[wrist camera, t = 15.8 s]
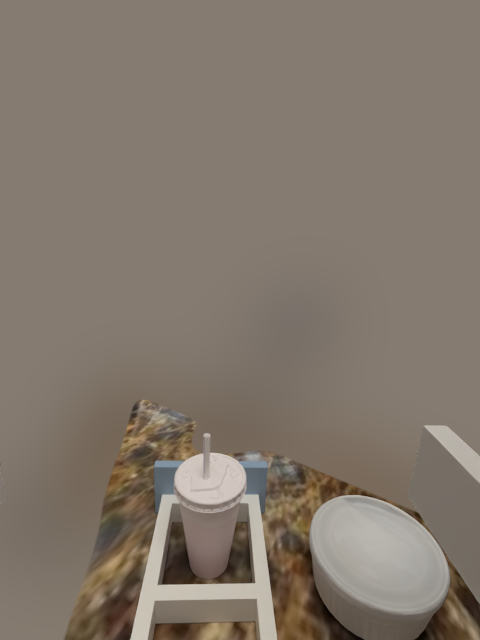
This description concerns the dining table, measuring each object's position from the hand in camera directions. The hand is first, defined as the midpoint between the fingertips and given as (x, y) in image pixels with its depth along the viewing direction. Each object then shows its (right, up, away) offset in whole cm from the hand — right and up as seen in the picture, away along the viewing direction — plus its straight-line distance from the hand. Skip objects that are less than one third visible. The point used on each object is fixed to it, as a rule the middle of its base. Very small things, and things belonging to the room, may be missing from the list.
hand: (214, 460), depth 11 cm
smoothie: (-2, -19, +22) cm, 29 cm away
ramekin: (+12, -20, +20) cm, 31 cm away
